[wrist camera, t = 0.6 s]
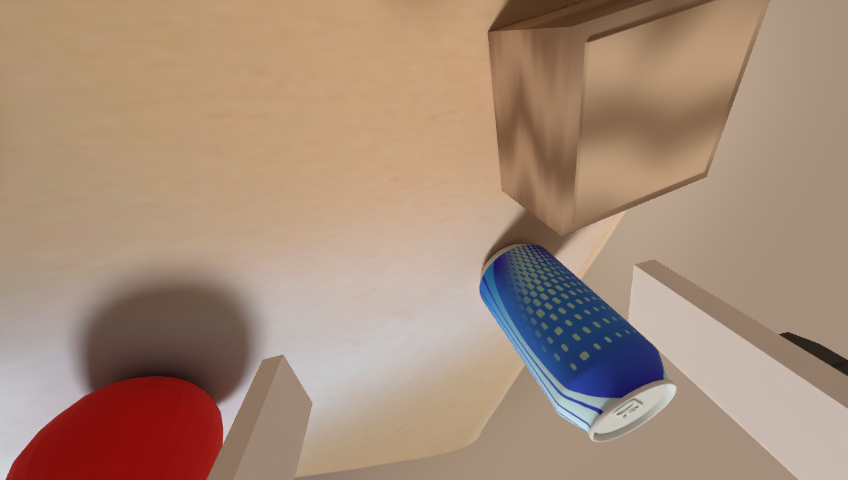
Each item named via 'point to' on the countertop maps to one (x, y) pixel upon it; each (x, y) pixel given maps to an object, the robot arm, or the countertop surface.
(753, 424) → the robot arm
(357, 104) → the countertop surface
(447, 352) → the countertop surface
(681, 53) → the block
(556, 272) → the beer can
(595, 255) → the countertop surface
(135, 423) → the tomato
